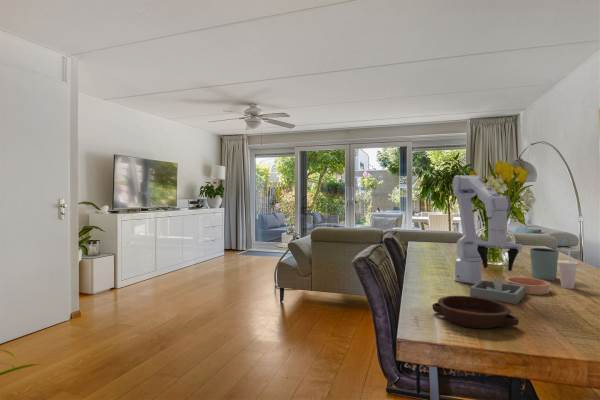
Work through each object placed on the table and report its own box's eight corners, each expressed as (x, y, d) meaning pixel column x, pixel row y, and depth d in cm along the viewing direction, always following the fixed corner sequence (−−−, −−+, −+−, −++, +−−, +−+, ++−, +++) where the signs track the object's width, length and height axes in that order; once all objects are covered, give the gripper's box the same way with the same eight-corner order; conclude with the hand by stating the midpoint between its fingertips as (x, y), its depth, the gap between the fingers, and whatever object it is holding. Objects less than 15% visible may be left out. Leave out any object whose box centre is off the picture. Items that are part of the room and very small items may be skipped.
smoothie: (582, 289, 127) (582, 252, 126) (562, 289, 128) (562, 251, 128) (572, 285, 133) (572, 249, 133) (553, 284, 134) (553, 249, 134)
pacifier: (507, 300, 116) (511, 295, 120) (507, 282, 116) (511, 278, 120) (483, 296, 121) (488, 292, 125) (483, 278, 121) (488, 275, 125)
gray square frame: (470, 295, 120) (470, 287, 120) (481, 287, 131) (481, 280, 131) (516, 304, 111) (516, 294, 111) (525, 294, 121) (525, 286, 121)
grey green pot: (547, 274, 151) (547, 247, 151) (565, 280, 141) (565, 251, 141) (524, 275, 151) (524, 247, 151) (540, 280, 141) (540, 251, 141)
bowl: (501, 289, 128) (501, 281, 128) (510, 282, 138) (510, 275, 138) (546, 296, 119) (546, 287, 119) (551, 288, 129) (551, 280, 129)
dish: (516, 341, 83) (516, 321, 83) (423, 322, 96) (423, 304, 96) (520, 320, 97) (520, 302, 97) (439, 306, 110) (439, 290, 110)
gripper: (471, 229, 122) (471, 267, 123) (519, 232, 113) (519, 273, 113) (477, 228, 128) (477, 264, 128) (523, 230, 118) (523, 270, 118)
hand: (497, 268), depth 121 cm, fingers open, 7 cm apart
